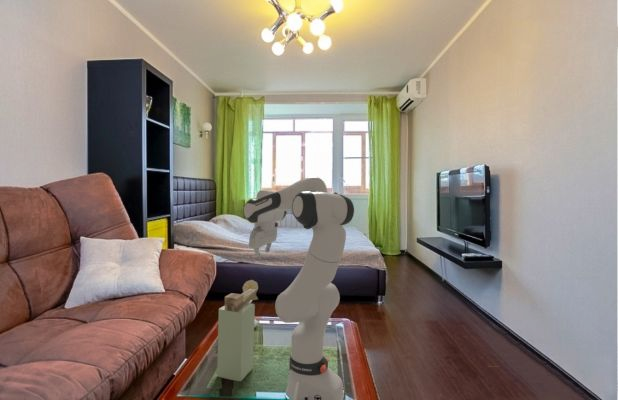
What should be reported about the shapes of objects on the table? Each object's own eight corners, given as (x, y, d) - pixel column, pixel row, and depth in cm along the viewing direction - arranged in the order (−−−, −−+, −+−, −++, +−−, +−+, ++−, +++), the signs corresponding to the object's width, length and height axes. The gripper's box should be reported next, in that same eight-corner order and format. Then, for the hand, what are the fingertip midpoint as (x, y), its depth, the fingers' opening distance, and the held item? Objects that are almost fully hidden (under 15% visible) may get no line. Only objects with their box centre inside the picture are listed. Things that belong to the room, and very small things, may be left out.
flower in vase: (230, 327, 171) (231, 279, 170) (246, 320, 180) (247, 274, 179) (248, 335, 164) (250, 284, 162) (264, 327, 173) (266, 279, 172)
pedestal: (253, 368, 134) (254, 304, 133) (240, 381, 125) (242, 313, 124) (230, 363, 137) (232, 300, 136) (217, 376, 128) (218, 309, 127)
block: (258, 297, 142) (258, 285, 141) (236, 312, 124) (236, 298, 124) (247, 295, 143) (247, 283, 143) (224, 310, 126) (224, 296, 126)
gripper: (258, 229, 144) (257, 260, 146) (279, 222, 163) (278, 250, 165) (246, 227, 147) (244, 258, 148) (268, 221, 166) (266, 248, 167)
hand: (262, 254), depth 157 cm, fingers open, 8 cm apart
